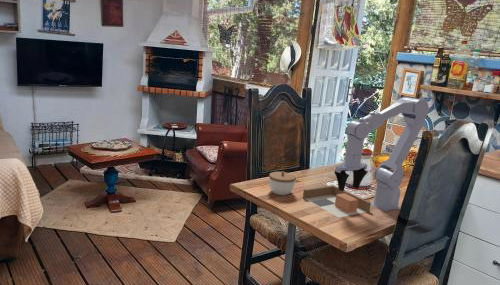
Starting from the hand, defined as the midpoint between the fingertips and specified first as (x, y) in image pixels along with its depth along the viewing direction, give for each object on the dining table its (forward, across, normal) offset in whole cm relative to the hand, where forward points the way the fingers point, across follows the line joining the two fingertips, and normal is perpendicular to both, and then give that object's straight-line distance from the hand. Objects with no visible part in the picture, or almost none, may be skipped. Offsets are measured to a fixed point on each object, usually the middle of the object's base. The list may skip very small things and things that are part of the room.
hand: (348, 188), depth 140 cm
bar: (+8, 0, 0) cm, 8 cm away
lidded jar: (+9, +14, -22) cm, 28 cm away
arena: (+8, +1, -4) cm, 10 cm away
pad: (+8, +4, -8) cm, 12 cm away
